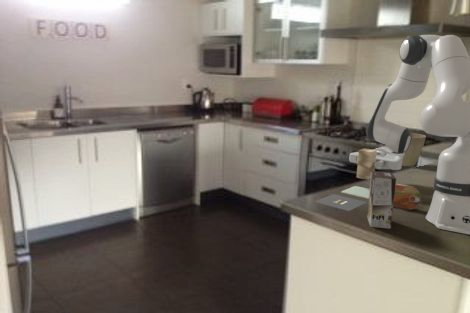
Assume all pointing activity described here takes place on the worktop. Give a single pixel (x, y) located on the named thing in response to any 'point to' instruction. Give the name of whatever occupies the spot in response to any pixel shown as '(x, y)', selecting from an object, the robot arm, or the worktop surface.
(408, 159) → the plant pot
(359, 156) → the beech block
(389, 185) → the coffee box
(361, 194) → the board
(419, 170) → the worktop surface
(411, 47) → the robot arm
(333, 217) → the worktop surface
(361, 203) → the tile
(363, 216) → the worktop surface
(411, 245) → the worktop surface
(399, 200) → the tin
